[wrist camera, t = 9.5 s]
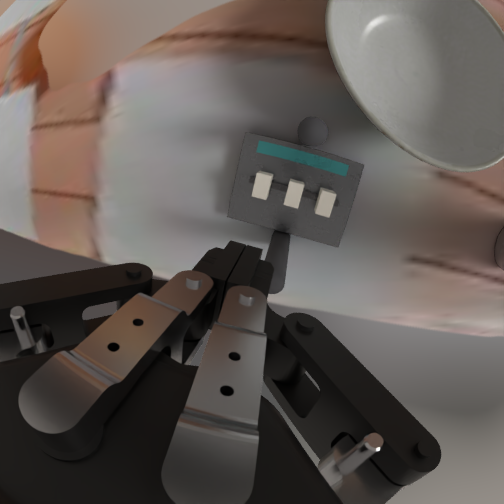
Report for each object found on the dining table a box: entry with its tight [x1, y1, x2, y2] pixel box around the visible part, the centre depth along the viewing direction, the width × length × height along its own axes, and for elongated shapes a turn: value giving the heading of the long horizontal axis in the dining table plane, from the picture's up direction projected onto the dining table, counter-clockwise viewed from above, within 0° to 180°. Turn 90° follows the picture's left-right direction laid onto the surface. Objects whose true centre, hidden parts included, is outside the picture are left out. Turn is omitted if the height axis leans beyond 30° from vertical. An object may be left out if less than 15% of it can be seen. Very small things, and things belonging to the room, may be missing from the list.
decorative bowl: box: [325, 0, 504, 172], centre depth 22 cm, size 27×27×12 cm
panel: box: [227, 132, 364, 247], centre depth 36 cm, size 16×12×3 cm
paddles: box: [252, 171, 336, 218], centre depth 33 cm, size 10×3×2 cm, turn 77°
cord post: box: [265, 230, 290, 294], centre depth 34 cm, size 3×3×14 cm
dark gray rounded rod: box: [298, 117, 328, 146], centre depth 28 cm, size 3×3×14 cm
